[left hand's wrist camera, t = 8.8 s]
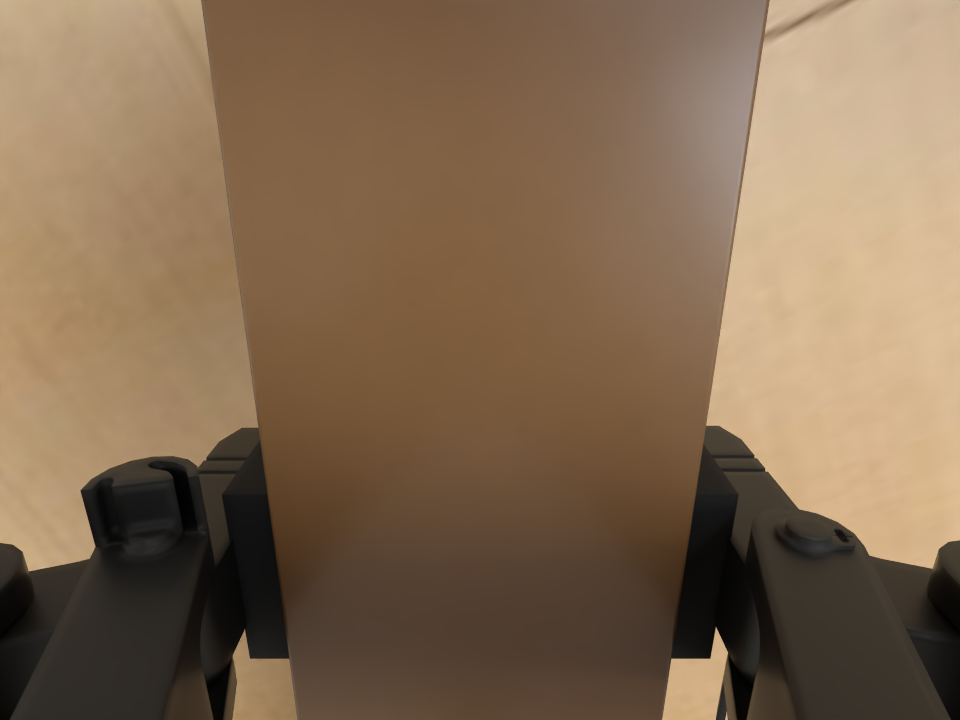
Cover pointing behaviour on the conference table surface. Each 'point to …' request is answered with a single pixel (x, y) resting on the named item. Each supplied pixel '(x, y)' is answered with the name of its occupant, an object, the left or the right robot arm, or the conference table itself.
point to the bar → (482, 333)
